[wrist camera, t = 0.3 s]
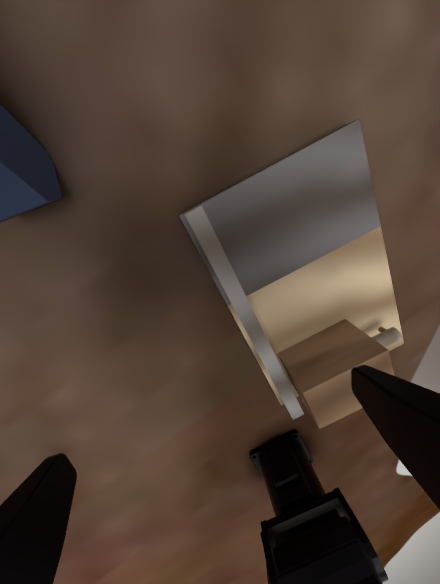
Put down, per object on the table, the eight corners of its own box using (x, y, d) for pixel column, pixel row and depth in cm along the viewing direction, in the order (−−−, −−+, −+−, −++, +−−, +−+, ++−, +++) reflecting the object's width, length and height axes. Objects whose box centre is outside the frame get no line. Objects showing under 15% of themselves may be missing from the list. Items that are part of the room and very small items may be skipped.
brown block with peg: (383, 339, 24) (431, 373, 19) (292, 385, 24) (319, 429, 19) (374, 303, 22) (425, 331, 17) (277, 353, 22) (302, 392, 18)
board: (391, 335, 26) (422, 355, 23) (275, 394, 26) (289, 421, 23) (345, 125, 18) (382, 108, 15) (179, 214, 18) (178, 217, 15)
